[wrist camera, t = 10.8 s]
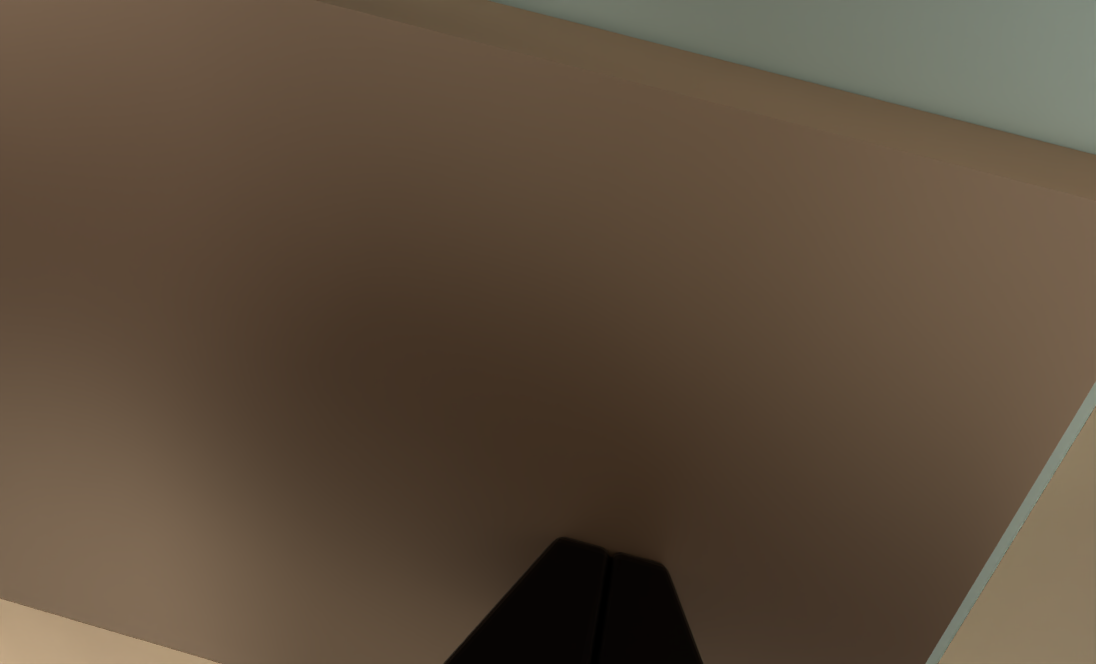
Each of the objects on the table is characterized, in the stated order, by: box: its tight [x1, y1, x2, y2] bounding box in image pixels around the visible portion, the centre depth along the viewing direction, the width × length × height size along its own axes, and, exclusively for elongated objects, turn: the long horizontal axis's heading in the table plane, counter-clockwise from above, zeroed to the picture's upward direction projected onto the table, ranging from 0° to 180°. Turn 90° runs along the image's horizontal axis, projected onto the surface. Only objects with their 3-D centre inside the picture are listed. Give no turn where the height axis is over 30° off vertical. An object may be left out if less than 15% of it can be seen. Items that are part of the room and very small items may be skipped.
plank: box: [0, 0, 1096, 664], centre depth 8 cm, size 6×8×1 cm
